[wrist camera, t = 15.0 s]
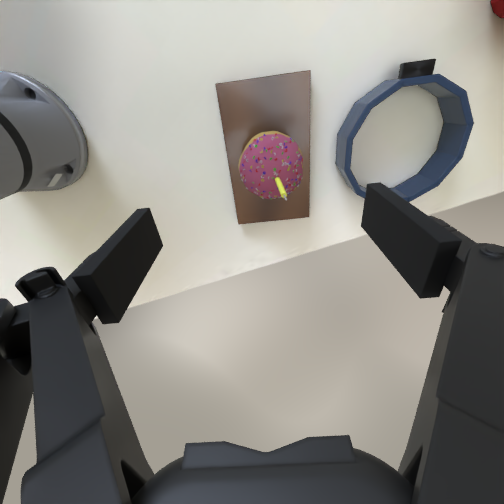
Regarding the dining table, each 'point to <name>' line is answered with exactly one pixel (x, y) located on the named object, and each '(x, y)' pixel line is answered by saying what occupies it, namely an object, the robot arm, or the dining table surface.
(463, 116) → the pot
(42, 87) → the robot arm
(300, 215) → the cutting board
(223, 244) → the dining table surface
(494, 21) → the dining table surface
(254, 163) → the cupcake
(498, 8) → the plastic cup
